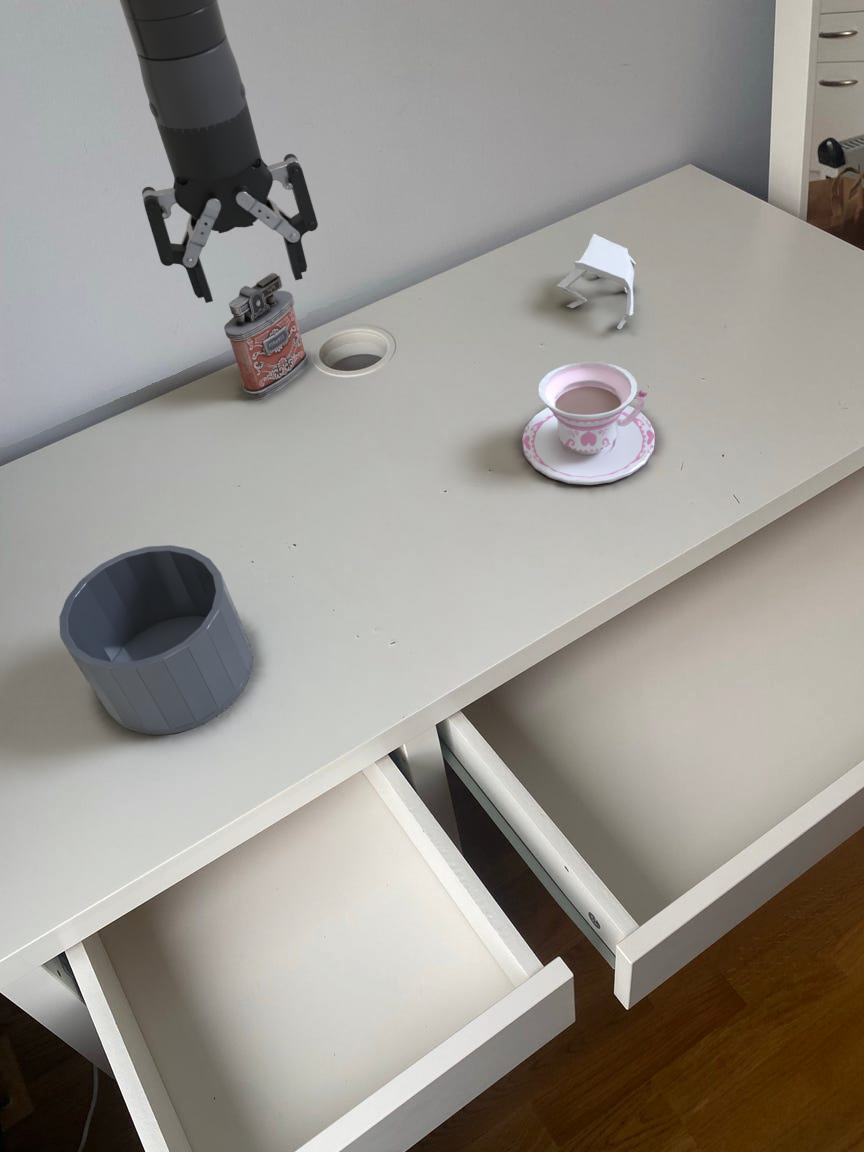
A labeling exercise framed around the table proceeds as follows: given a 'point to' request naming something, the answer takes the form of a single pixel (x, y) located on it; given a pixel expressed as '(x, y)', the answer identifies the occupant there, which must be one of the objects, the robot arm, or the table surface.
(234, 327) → the lighter
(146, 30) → the robot arm
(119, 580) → the blue-grey round bin
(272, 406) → the table surface
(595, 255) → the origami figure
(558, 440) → the teacup
